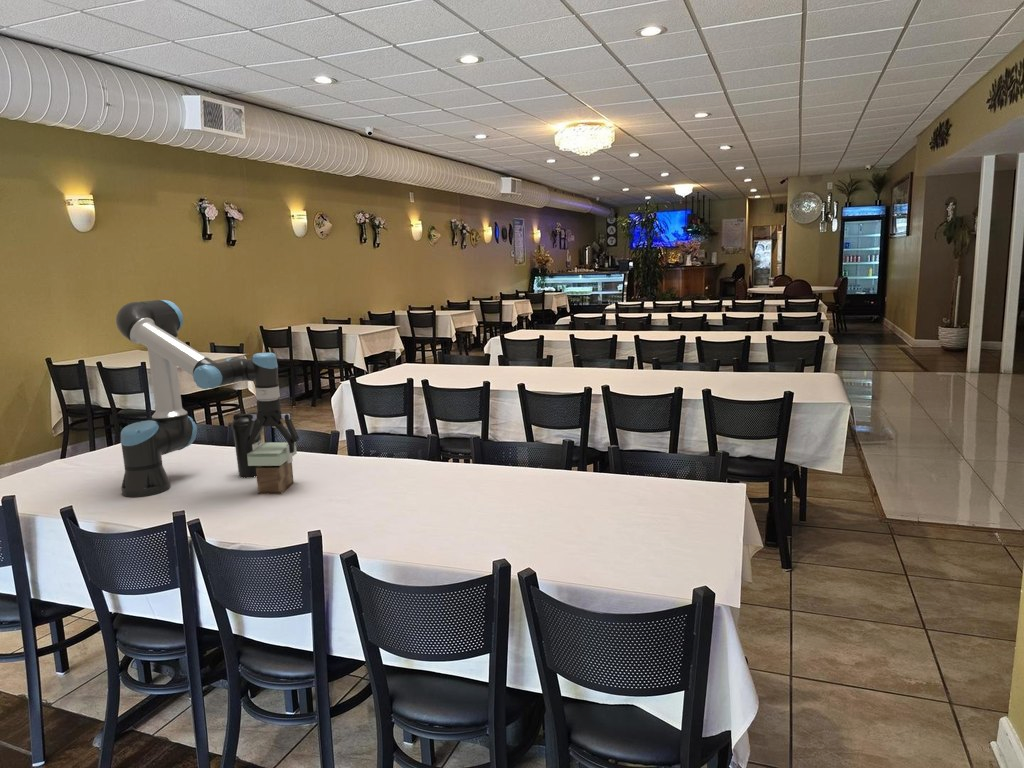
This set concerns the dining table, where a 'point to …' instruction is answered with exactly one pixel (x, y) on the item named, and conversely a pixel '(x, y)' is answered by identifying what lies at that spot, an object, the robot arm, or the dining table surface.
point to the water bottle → (241, 447)
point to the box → (274, 478)
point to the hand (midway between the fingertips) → (273, 462)
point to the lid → (269, 454)
